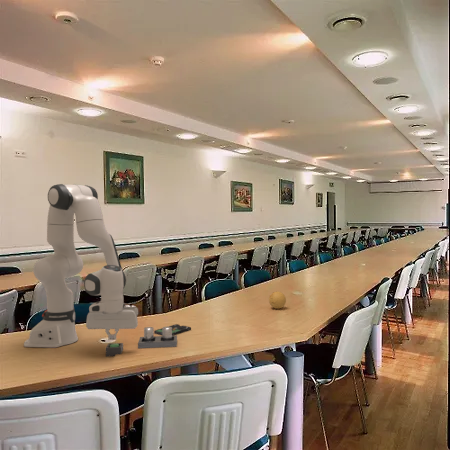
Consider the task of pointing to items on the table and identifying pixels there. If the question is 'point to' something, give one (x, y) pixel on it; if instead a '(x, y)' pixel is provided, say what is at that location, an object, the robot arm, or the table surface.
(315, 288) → the table surface
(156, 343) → the block
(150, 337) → the billet
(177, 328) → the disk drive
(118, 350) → the button housing
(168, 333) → the billet
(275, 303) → the stress ball
